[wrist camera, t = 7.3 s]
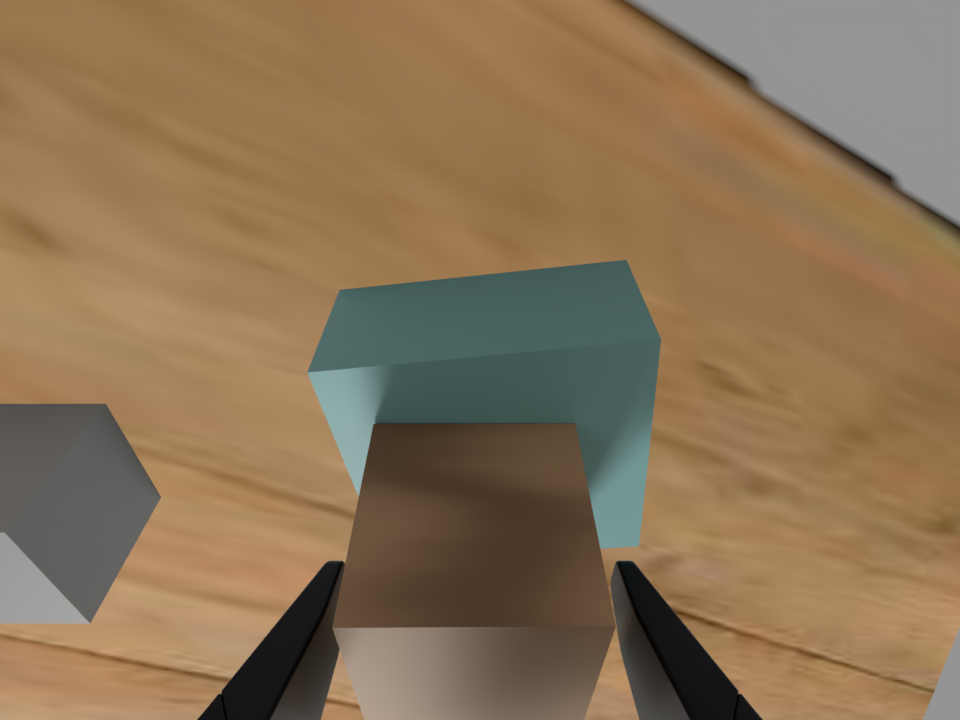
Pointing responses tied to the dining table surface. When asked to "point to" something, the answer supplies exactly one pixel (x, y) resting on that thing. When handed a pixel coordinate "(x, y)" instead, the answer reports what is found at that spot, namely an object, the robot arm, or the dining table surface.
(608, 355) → the teal base block
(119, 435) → the slate grey block
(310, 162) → the dining table surface
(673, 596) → the dining table surface
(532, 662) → the walnut block
